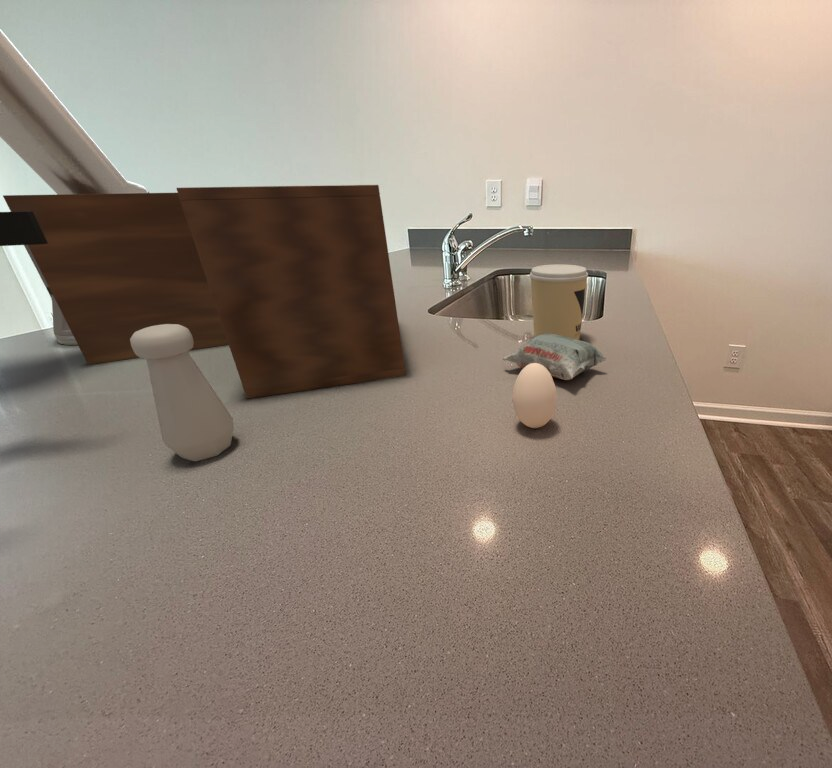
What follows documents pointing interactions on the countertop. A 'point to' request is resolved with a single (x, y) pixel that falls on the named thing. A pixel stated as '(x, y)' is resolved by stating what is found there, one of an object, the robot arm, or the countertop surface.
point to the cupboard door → (121, 268)
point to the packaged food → (557, 355)
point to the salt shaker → (183, 394)
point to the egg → (534, 396)
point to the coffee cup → (558, 299)
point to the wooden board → (299, 283)
